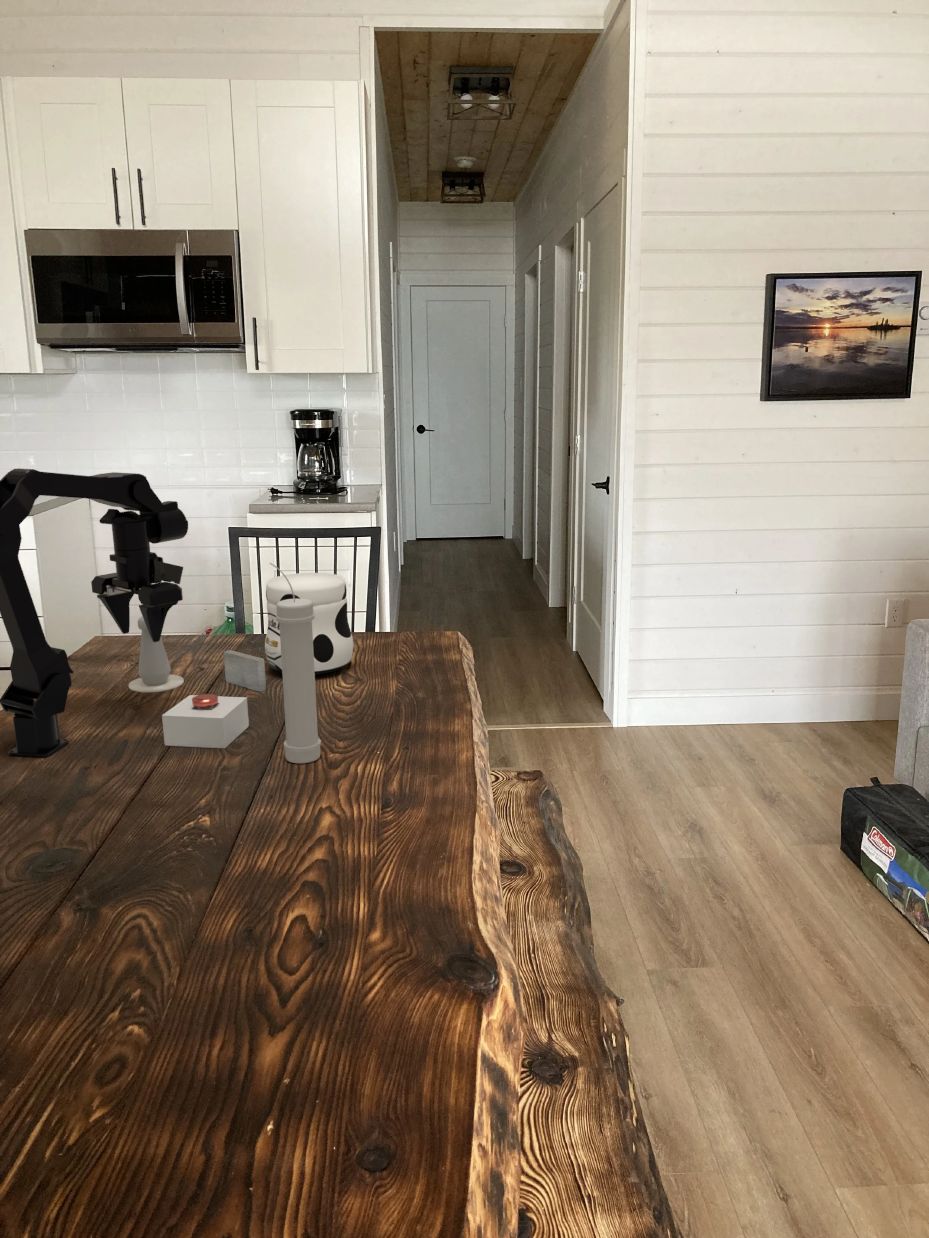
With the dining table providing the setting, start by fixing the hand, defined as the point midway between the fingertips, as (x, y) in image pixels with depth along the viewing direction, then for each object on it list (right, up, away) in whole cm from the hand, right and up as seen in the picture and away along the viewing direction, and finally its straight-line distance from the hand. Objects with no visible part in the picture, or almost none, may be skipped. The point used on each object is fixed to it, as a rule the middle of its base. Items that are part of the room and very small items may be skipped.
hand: (140, 637), depth 163 cm
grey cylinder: (+31, -18, -19) cm, 41 cm away
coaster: (-3, -9, +17) cm, 19 cm away
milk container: (+25, -7, +26) cm, 37 cm away
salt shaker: (-3, -9, +17) cm, 19 cm away
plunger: (+14, -15, -10) cm, 23 cm away
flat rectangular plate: (+15, -9, +15) cm, 23 cm away
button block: (+14, -16, -10) cm, 23 cm away
